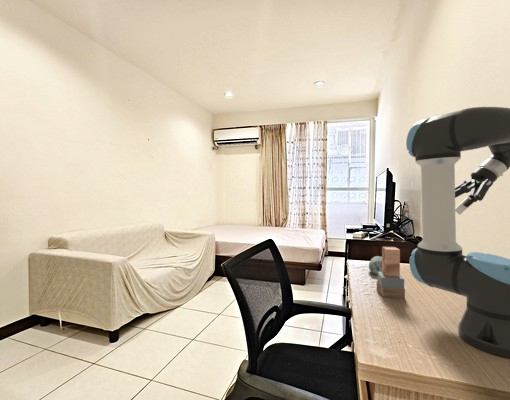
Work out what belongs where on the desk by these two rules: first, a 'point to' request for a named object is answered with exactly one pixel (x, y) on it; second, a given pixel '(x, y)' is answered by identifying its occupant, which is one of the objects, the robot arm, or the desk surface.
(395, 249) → the tall block
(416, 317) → the desk surface
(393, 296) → the bottom slab
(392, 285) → the top slab
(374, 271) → the spool
